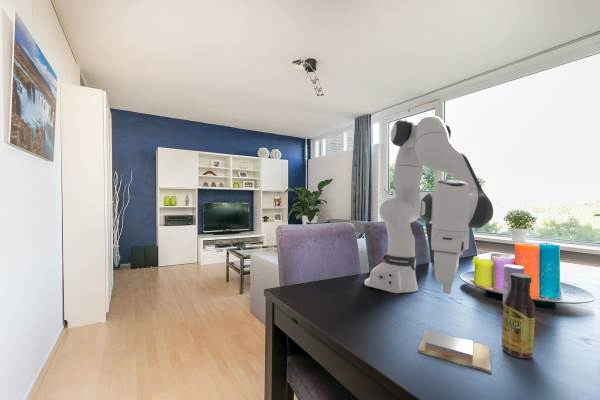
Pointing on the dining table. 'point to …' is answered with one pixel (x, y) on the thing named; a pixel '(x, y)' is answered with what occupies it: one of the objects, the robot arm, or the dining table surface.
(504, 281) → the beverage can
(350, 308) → the dining table surface
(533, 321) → the sauce bottle
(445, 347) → the tile
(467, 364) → the oak board
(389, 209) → the robot arm
